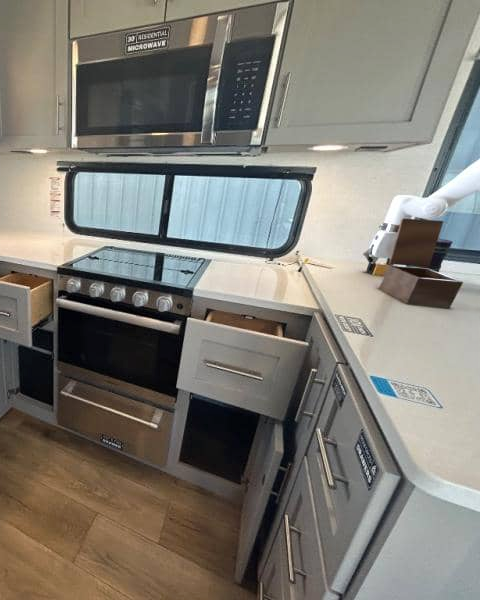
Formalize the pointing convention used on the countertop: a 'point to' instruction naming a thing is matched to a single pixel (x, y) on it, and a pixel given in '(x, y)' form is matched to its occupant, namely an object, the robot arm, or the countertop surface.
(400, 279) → the chest
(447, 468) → the countertop surface
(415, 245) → the lid
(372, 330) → the countertop surface
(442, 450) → the countertop surface
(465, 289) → the countertop surface
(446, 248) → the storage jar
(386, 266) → the block
